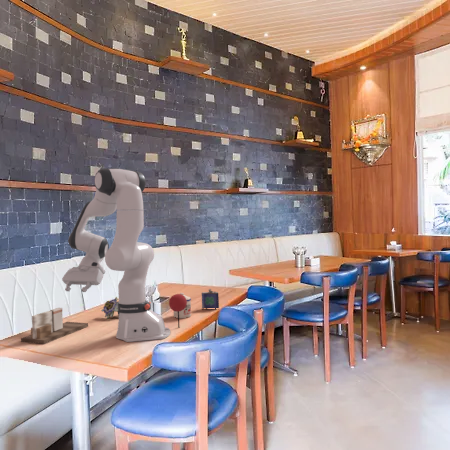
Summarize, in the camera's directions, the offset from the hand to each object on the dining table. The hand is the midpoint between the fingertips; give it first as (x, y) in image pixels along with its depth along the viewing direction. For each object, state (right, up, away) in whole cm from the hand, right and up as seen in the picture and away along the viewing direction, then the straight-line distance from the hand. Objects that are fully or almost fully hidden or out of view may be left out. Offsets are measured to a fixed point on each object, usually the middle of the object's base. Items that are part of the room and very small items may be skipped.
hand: (75, 291), depth 187 cm
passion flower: (+14, -16, +16) cm, 27 cm away
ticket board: (-4, -17, -12) cm, 21 cm away
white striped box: (-4, -15, -11) cm, 19 cm away
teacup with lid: (+49, -15, +14) cm, 53 cm away
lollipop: (+49, -15, -8) cm, 52 cm away
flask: (+62, -14, +27) cm, 69 cm away
